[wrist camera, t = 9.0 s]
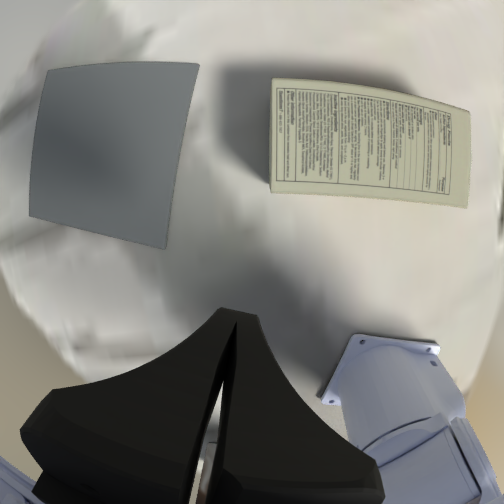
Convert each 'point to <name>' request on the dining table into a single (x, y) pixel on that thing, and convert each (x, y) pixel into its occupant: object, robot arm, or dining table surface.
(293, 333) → the dining table surface
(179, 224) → the dining table surface
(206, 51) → the dining table surface
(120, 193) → the mat
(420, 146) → the skincare box
